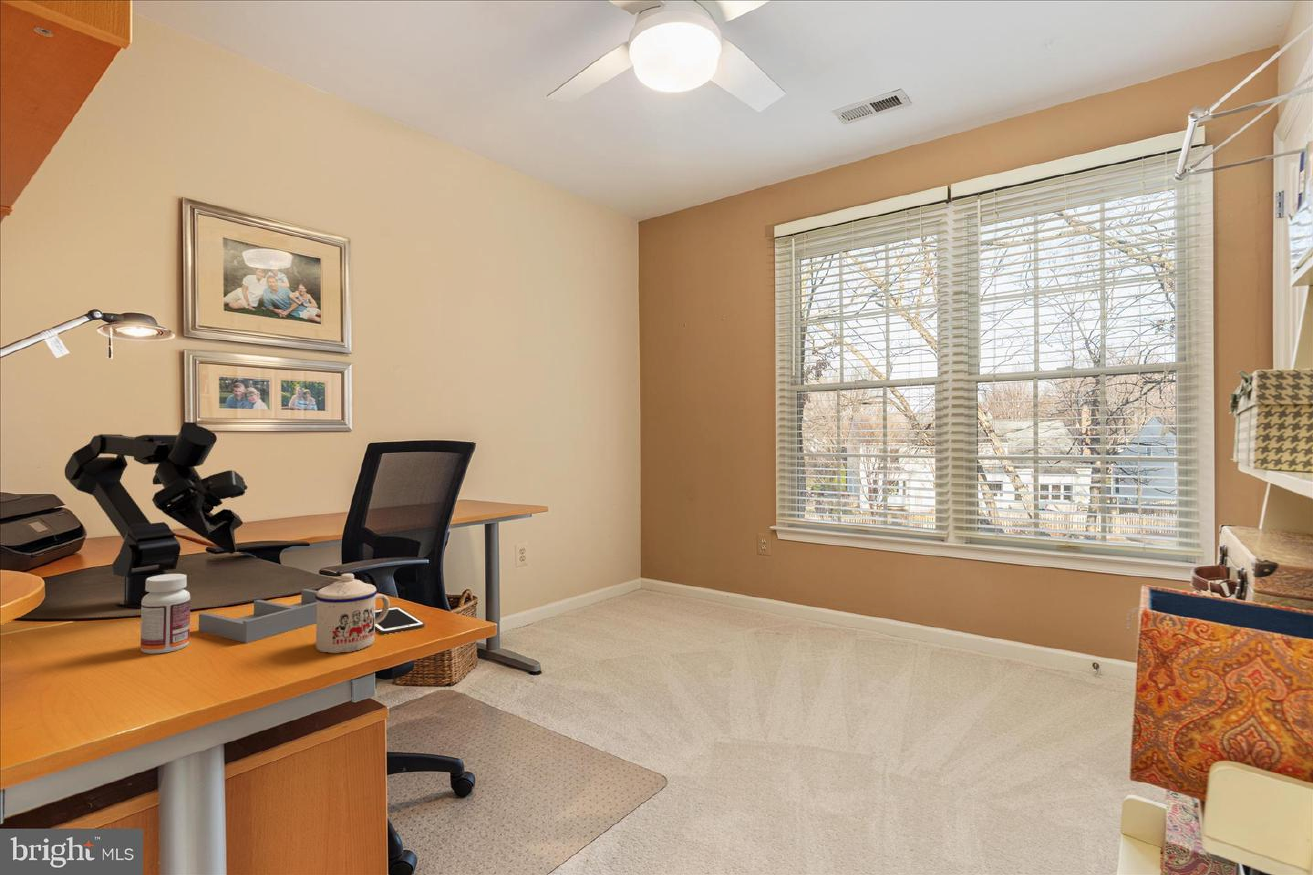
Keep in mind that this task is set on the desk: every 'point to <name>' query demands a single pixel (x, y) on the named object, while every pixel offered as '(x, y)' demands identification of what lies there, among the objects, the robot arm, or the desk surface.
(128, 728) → the desk surface
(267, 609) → the tray
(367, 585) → the teacup with lid
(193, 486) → the robot arm
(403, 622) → the cell phone
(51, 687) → the desk surface
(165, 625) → the pill bottle
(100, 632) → the desk surface
